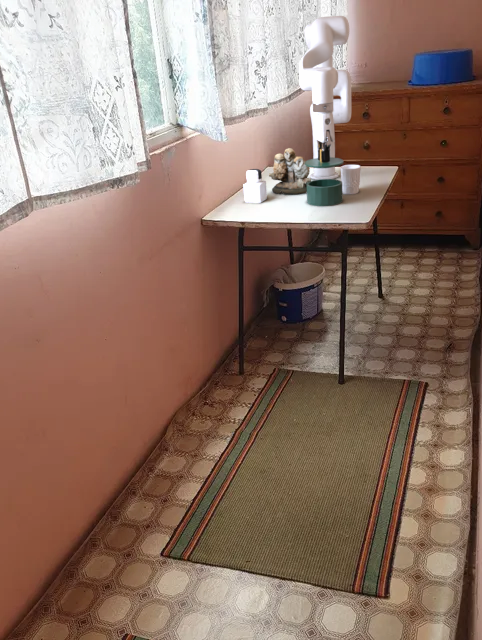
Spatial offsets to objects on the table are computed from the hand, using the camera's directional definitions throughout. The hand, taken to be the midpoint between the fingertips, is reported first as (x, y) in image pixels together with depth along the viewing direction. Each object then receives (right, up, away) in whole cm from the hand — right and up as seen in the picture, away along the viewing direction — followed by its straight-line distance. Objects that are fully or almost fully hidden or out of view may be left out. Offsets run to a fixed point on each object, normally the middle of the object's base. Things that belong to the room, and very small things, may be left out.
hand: (323, 160), depth 228 cm
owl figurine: (-12, -4, +25) cm, 27 cm away
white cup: (+12, -7, +17) cm, 22 cm away
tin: (+1, -13, +8) cm, 15 cm away
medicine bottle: (-26, -11, +15) cm, 32 cm away
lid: (0, -1, +1) cm, 1 cm away
